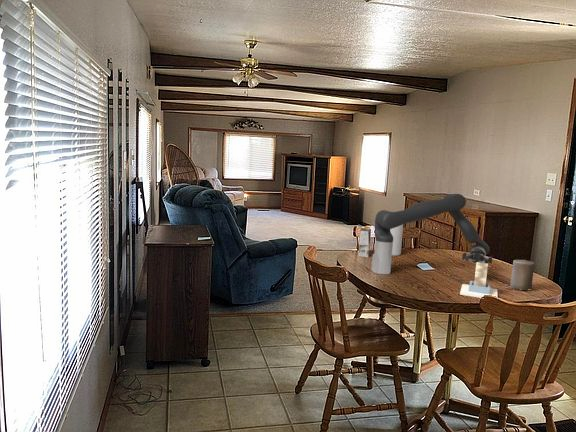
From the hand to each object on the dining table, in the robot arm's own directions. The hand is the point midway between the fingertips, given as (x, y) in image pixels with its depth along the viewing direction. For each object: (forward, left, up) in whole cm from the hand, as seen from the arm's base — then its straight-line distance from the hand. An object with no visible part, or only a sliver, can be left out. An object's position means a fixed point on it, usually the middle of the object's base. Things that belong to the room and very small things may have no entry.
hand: (476, 260), depth 238 cm
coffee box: (-34, +65, -13) cm, 75 cm away
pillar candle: (+23, -5, -13) cm, 27 cm away
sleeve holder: (-5, -12, -13) cm, 18 cm away
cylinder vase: (-14, +70, -13) cm, 73 cm away
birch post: (-5, -12, -12) cm, 17 cm away
